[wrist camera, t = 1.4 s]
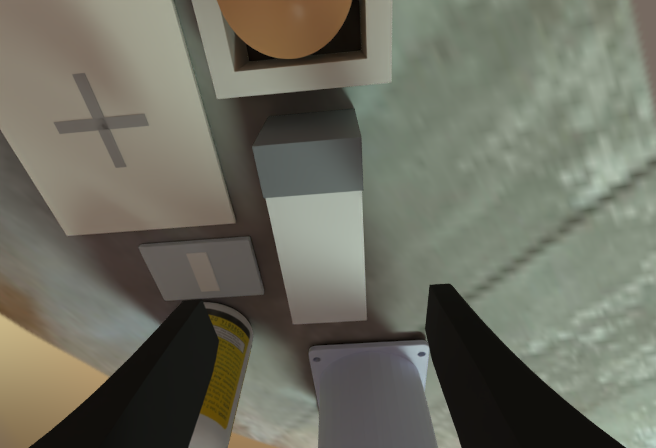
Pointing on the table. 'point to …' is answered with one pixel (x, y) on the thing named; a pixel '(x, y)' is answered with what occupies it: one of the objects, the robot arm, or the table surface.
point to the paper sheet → (109, 115)
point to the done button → (285, 24)
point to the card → (204, 268)
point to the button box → (300, 73)
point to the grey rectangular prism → (316, 211)
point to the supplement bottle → (224, 377)
